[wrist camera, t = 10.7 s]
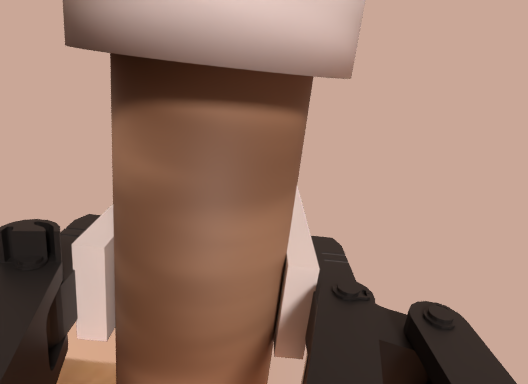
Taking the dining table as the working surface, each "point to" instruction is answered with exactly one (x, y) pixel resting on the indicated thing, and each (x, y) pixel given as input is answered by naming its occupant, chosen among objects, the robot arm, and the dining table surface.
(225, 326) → the long pin
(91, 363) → the dining table surface
